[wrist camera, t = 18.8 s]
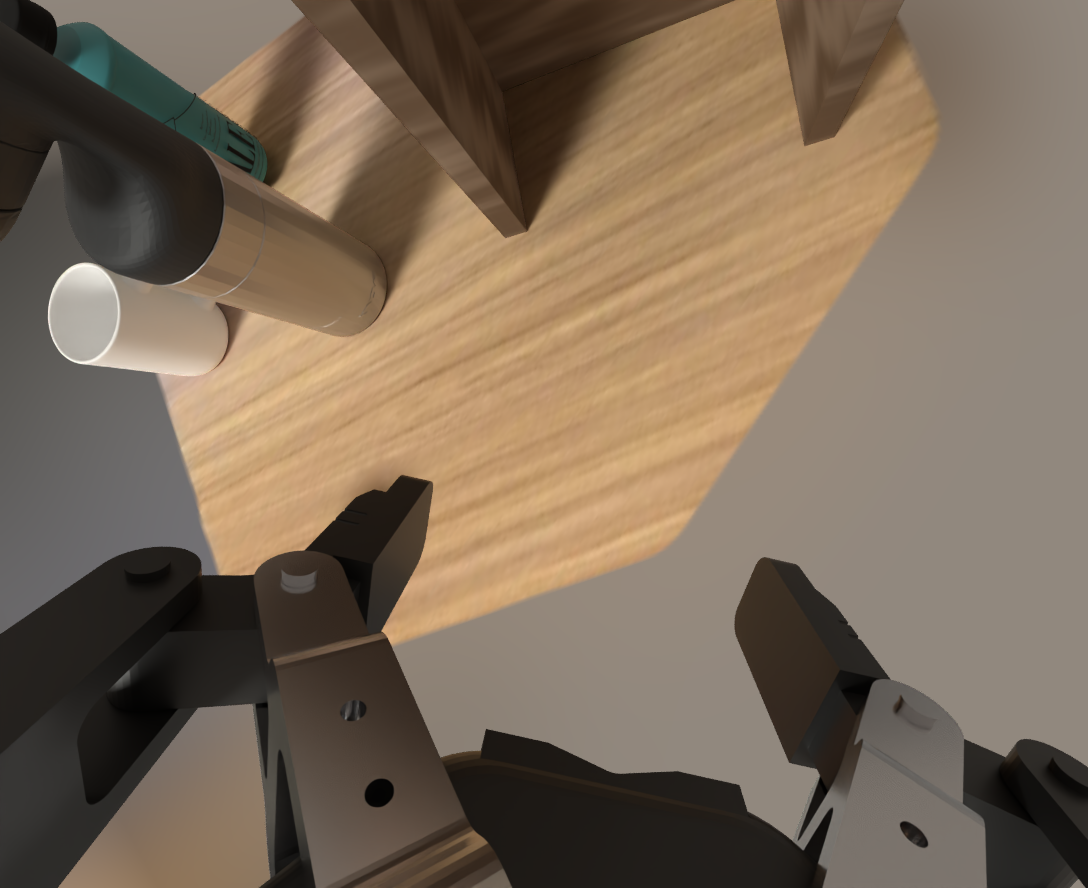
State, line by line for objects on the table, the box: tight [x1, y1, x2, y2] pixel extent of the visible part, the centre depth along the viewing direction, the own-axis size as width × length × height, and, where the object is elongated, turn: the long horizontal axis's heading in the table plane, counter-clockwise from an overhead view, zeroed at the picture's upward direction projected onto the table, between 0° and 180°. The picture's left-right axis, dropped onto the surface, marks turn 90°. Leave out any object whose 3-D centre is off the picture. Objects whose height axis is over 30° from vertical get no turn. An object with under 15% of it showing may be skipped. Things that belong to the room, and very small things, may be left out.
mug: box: [48, 263, 228, 376], centre depth 47 cm, size 9×12×11 cm
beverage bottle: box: [0, 0, 267, 182], centre depth 41 cm, size 6×7×20 cm
